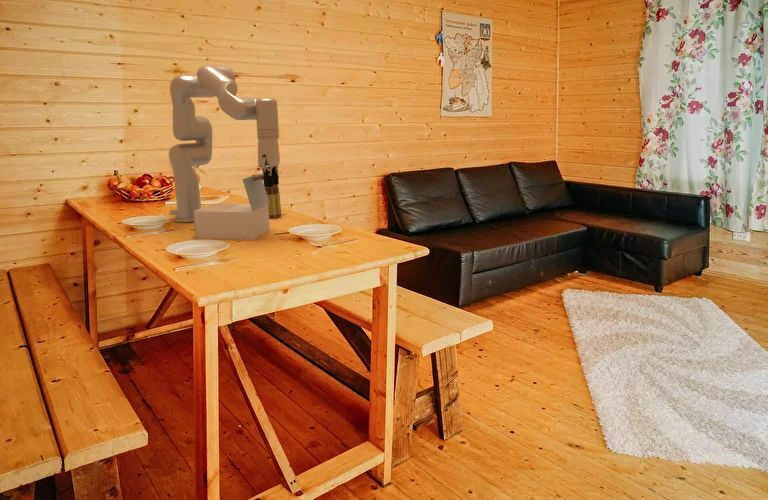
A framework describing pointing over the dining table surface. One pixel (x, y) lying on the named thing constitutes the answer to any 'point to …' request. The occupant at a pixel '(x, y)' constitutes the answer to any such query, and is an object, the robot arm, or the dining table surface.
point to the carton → (231, 221)
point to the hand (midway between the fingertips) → (271, 185)
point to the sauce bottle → (273, 201)
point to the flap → (256, 191)
